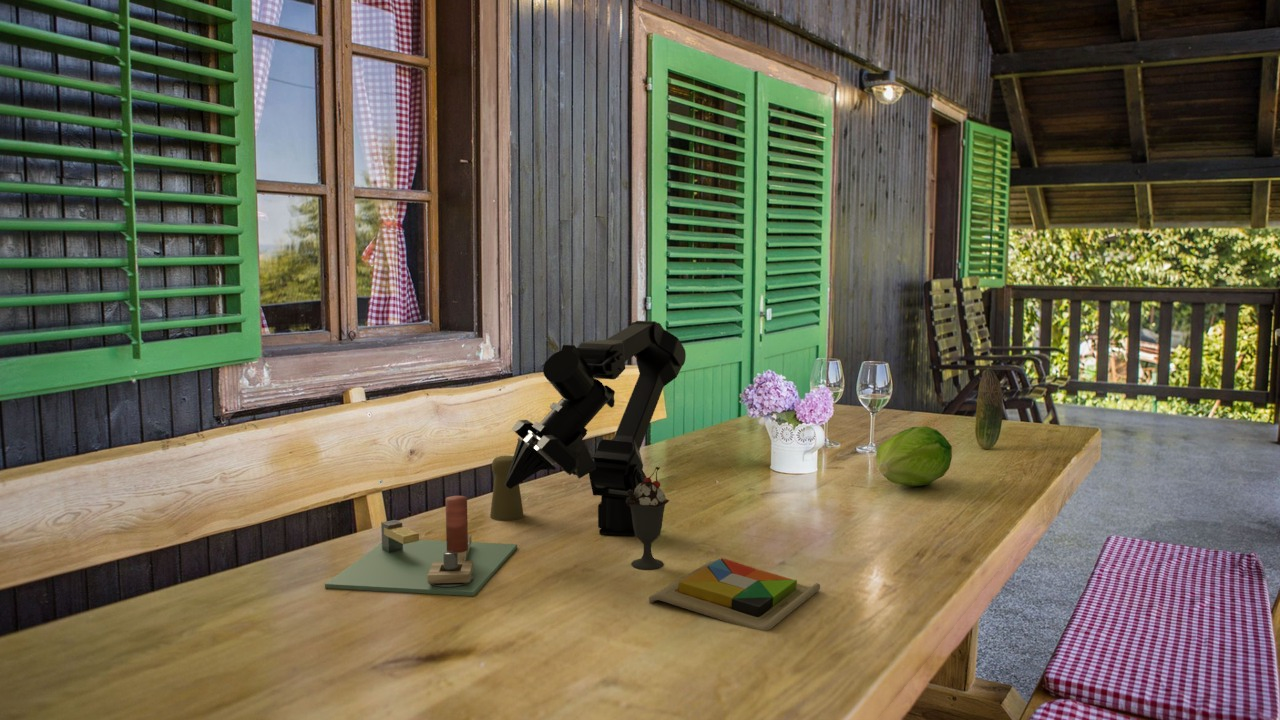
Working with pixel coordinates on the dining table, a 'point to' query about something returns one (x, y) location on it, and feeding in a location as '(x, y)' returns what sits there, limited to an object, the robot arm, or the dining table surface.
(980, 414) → the vegetable
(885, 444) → the green oval lump
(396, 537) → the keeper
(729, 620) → the wooden puzzle
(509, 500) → the cork
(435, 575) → the latch bar
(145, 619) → the dining table surface
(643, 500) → the sundae
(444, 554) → the pintle
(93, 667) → the dining table surface
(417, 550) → the latch board
